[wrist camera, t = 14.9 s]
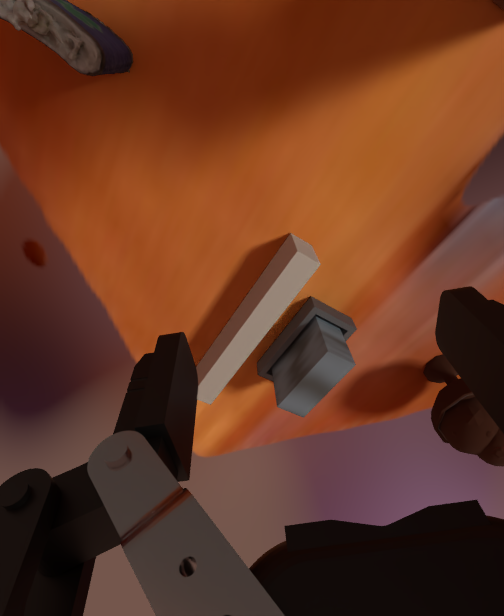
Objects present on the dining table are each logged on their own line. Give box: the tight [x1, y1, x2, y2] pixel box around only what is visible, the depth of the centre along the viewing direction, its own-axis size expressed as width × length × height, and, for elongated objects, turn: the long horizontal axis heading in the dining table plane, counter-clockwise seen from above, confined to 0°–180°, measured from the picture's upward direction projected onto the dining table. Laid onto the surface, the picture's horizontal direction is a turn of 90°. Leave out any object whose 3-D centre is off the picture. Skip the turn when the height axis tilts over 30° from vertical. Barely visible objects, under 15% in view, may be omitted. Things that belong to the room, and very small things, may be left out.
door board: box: [196, 233, 321, 404], centre depth 45 cm, size 24×3×5 cm, turn 148°
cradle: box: [257, 297, 357, 382], centre depth 49 cm, size 13×7×2 cm, turn 148°
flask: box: [0, 0, 133, 76], centre depth 26 cm, size 9×3×11 cm, turn 59°
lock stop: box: [272, 314, 356, 417], centre depth 46 cm, size 10×4×8 cm, turn 148°
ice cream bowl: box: [424, 355, 504, 466], centre depth 48 cm, size 11×11×15 cm
